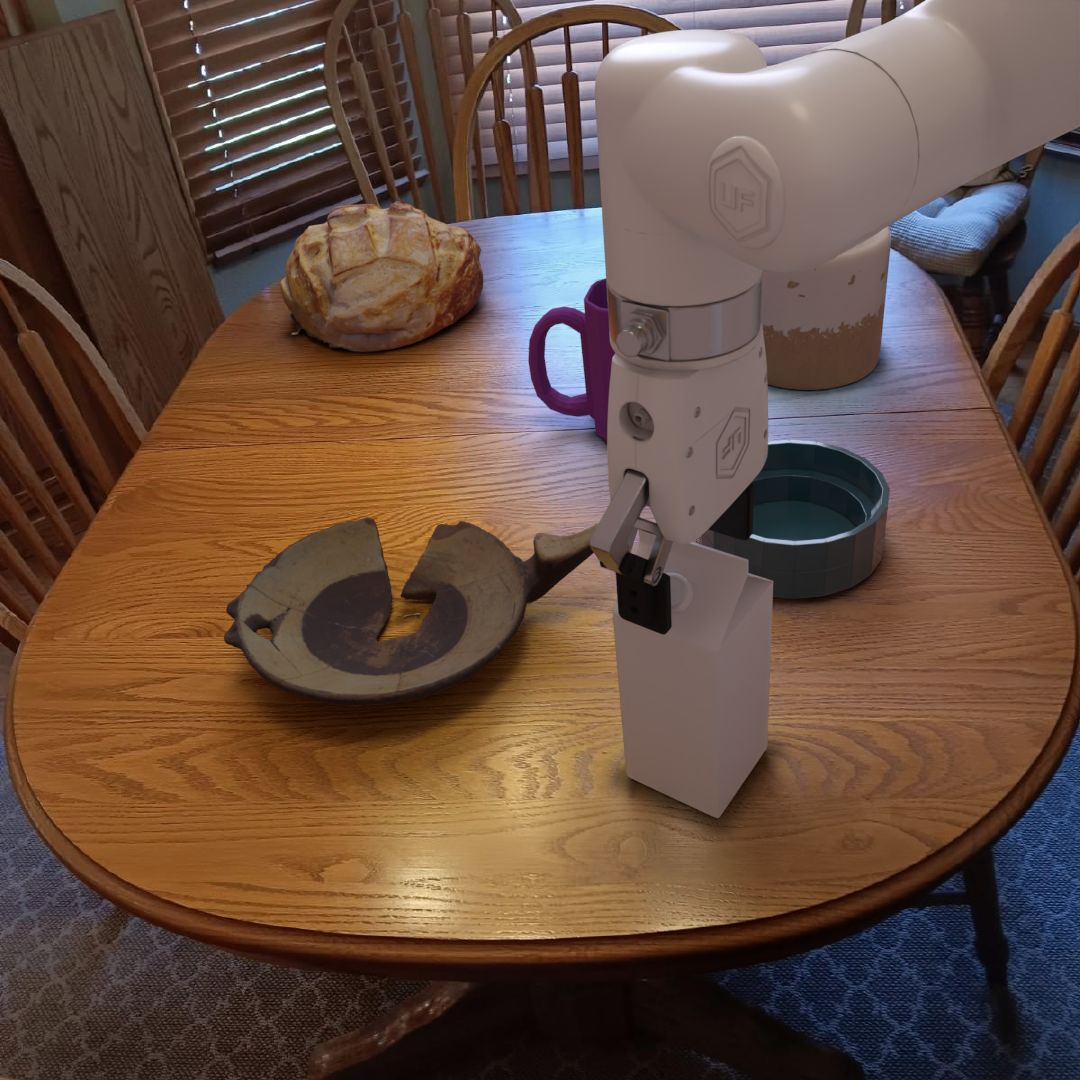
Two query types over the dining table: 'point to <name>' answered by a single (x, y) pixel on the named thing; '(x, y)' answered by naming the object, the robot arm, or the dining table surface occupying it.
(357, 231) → the bread
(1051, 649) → the dining table surface
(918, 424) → the dining table surface
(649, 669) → the milk carton
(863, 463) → the shallow pet bowl
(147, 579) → the dining table surface
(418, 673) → the broken pan
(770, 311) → the vase
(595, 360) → the mug
